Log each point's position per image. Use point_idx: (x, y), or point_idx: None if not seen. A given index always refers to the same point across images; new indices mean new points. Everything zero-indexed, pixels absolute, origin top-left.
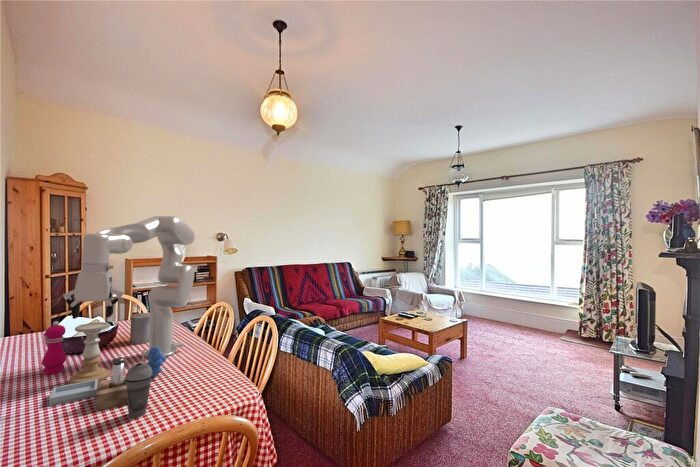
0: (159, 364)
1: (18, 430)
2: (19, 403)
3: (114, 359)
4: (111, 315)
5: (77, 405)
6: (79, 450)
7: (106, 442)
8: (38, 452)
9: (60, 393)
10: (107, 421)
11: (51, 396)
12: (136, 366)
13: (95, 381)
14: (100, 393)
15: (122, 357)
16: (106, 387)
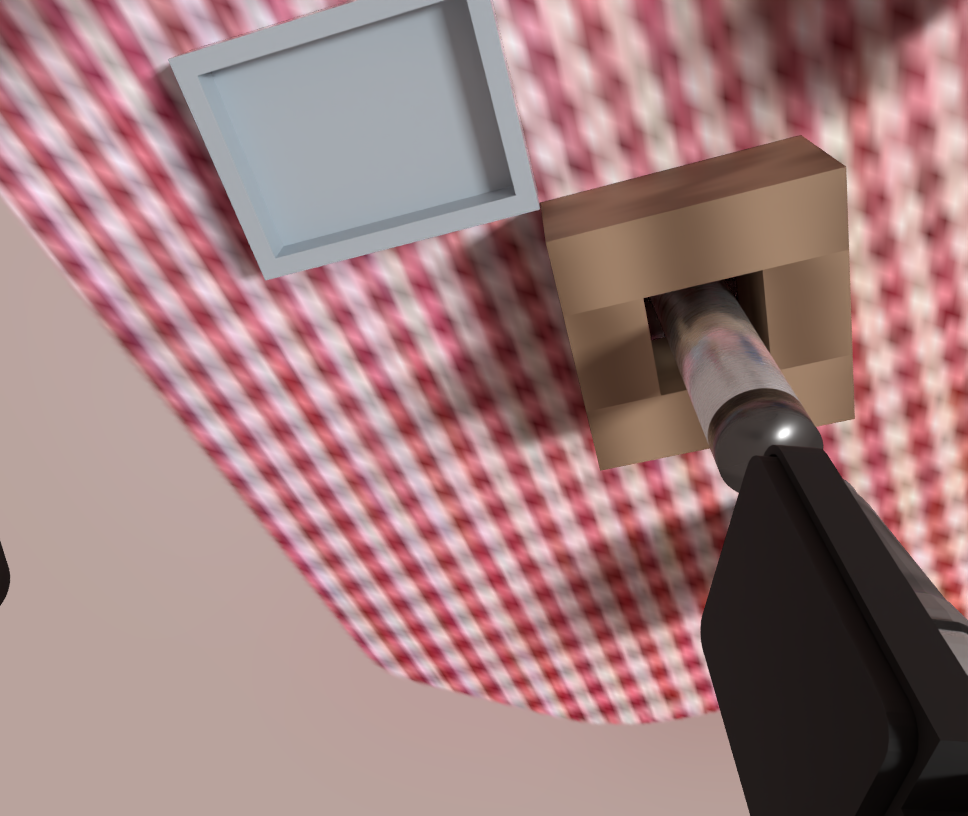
0: None
1: (283, 487)
2: (37, 141)
3: (732, 460)
4: (812, 457)
5: (456, 302)
6: (612, 686)
7: (699, 671)
8: (468, 658)
9: (259, 110)
10: (674, 530)
11: (259, 249)
12: None
13: (476, 27)
14: (620, 455)
15: (803, 426)
16: (639, 373)
